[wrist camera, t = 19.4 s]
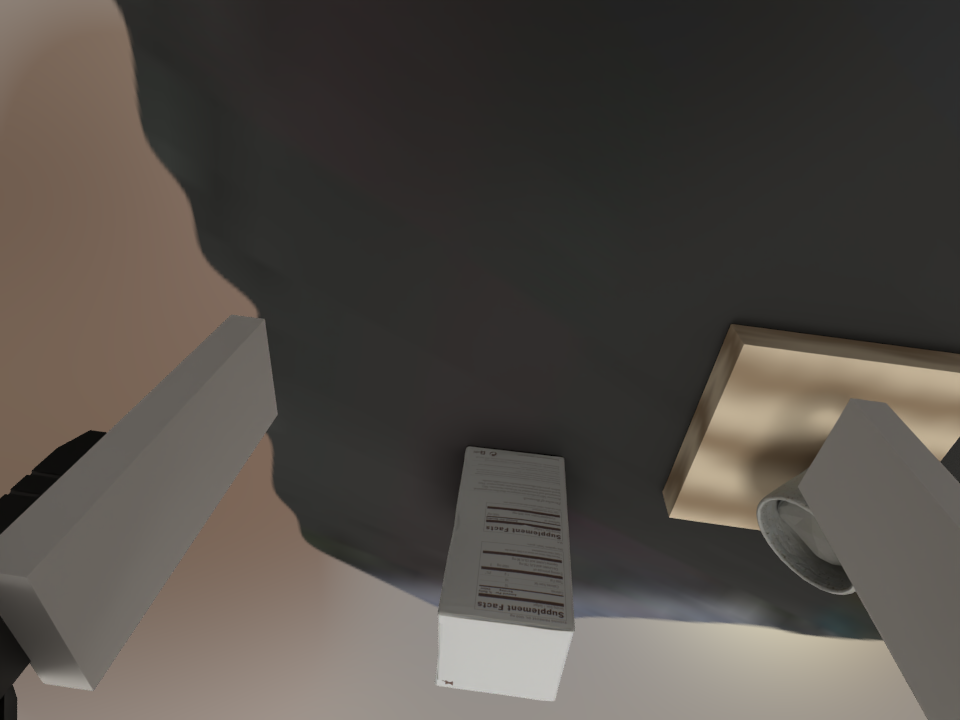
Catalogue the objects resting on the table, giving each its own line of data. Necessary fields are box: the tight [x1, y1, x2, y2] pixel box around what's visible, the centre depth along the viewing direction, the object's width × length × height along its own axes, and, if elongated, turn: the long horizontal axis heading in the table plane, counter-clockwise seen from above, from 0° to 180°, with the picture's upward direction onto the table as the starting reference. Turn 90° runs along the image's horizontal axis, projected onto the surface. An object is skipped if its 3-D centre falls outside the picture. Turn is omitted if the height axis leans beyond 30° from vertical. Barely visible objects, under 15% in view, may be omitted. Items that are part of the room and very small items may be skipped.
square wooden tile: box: [663, 324, 960, 530], centre depth 43 cm, size 18×18×3 cm
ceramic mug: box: [756, 468, 856, 595], centre depth 37 cm, size 11×8×8 cm
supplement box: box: [435, 446, 575, 701], centre depth 44 cm, size 10×9×17 cm
